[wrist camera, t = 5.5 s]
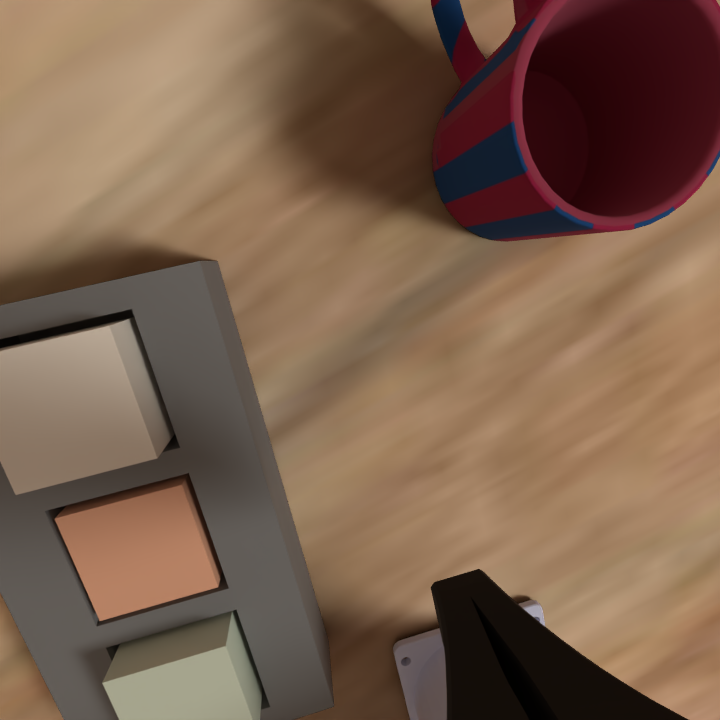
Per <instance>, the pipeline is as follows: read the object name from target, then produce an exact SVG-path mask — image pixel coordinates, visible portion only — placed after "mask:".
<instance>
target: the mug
mask: <svg viewBox="0 0 720 720" xmlns="http://www.w3.org/2000/svg"><path fill="white" fill-rule="evenodd" d="M513 3H514V13H515V21H516V24H515V26H514V28H513V30H512V31H511V33H510V35H509V37H508V38H507V39H506V40H505V41H504V42H503V43H502V44H501V46H500V47H499V48H498V49H497V50H496V51H495V52H494V53H493V54H492V55H491V56H490V57H489V58H488V59H487V60H486V59H485V57H484V56H483V55H482V53H481V52H480V50H479V49H478V47H477V45H476V43H475V41H474V39H473V37H472V35H471V34H470V31H469V29H468V26H467V23H466V21H465V18H464V15H463V12H462V8H461V4H460V1H459V0H431V5H432V10H433V14H434V17H435V21H436V24H437V27H438V30H439V34H440V37H441V39H442V42H443V44H444V47H445V49H446V52H447V54H448V56H449V59H450V61H451V63H452V66H453V68H454V70H455V72H456V74H457V76H458V77H459V79H460V81H461V82H462V83H461V86H460V89H459V90H458V91H457V93H456V94H455V95H454V96H453V97H452V99H451V100H450V102H449V103H448V105H447V107H446V108H445V110H444V112H443V114H442V116H441V118H440V121H439V123H438V126H437V129H436V133H435V137H434V142H433V152H432V162H433V173H434V178H435V182H436V186H437V189H438V192H439V194H440V197H441V199H442V201H443V203H444V204H445V206H446V207H447V209H448V211H449V212H450V213H451V214H452V216H453V217H454V218H455V219H456V220H457V221H458V222H459V223H460V224H461V225H462V226H464V227H465V228H466V229H468V230H469V231H471V232H473V233H475V234H477V235H478V236H480V237H484V238H487V239H490V240H496V241H516V240H527V239H538V238H549V237H559V236H570V235H581V234H592V233H603V232H614V231H624V230H632V229H636V228H639V227H642V226H646V225H649V224H651V223H653V222H655V221H657V220H659V219H661V218H663V217H665V216H667V215H669V214H670V213H671V212H673V211H674V210H676V209H677V208H678V207H680V206H681V205H682V204H684V203H685V202H686V201H687V200H688V199H689V198H690V197H691V196H692V195H693V194H694V193H695V192H696V191H697V190H698V189H699V188H700V186H701V185H702V184H703V182H704V181H705V180H706V178H707V177H708V176H709V174H710V173H711V172H712V170H713V168H714V166H715V165H716V163H717V161H718V159H719V157H720V6H719V4H718V3H717V1H716V0H513Z"/></svg>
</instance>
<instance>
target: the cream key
mask: <svg viewBox="0 0 720 720" xmlns="http://www.w3.org/2000/svg"><path fill="white" fill-rule="evenodd" d="M174 434H175V432H174V429H173V426H172V423H171V420H170V418H169V415H168V412H167V409H166V406H165V403H164V400H163V397H162V395H161V392H160V389H159V386H158V383H157V380H156V377H155V374H154V372H153V369H152V366H151V363H150V360H149V357H148V354H147V351H146V349H145V346H144V343H143V340H142V337H141V334H140V331H139V329H138V326H137V323H136V320H135V317H132V318H128V319H124V320H119V321H115V322H111V323H106V324H102V325H98V326H93V327H89V328H85V329H80V330H76V331H72V332H67V333H63V334H59V335H54V336H50V337H46V338H41V339H37V340H33V341H28V342H24V343H20V344H15V345H11V346H7V347H2V348H0V462H1V464H2V467H3V469H4V471H5V473H6V475H7V477H8V480H9V482H10V484H11V486H12V488H13V490H14V493H15V495H18V494H22V493H26V492H30V491H33V490H37V489H41V488H45V487H49V486H53V485H57V484H61V483H64V482H68V481H72V480H76V479H80V478H84V477H88V476H91V475H95V474H99V473H103V472H107V471H111V470H115V469H118V468H122V467H126V466H130V465H134V464H138V463H142V462H145V461H149V460H153V459H157V458H158V457H159V456H160V454H161V453H162V451H163V450H164V448H165V447H166V446H167V444H168V443H169V441H170V440H171V438H172V437H173V436H174Z"/></svg>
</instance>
